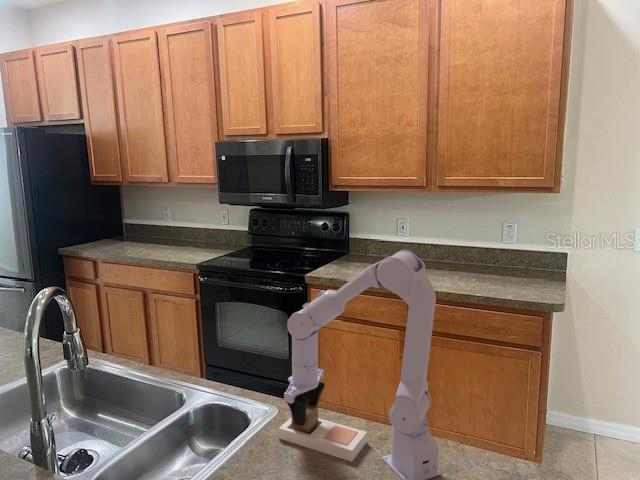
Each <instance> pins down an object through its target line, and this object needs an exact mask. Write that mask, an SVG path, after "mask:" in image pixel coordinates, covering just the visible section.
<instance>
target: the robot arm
mask: <svg viewBox="0 0 640 480" xmlns="http://www.w3.org/2000/svg"><path fill="white" fill-rule="evenodd" d="M426 271H427V270H426V264H425V262H424V261H423V260H421V258H419V257H418V256H417V255H416V253H414V252H412V251H410V250H408V249H407V250H403V249H402V250H399V251H397V252H395V253H394V254H392V255H391V256H388V257H385V258H384V259H382V260H380V261H378V262H376V263H374V264H372V265H369V266H368V267H366V268H364V269H363V270H362V271H360V272H359V273H358V274H357V275H355V276H353V278H351V279H350V280H349V281H348V282H346V283H345V284H344V285H342V286H341V287H340V288H339V289H337V290H333V289H327V290H326V291H325V290H324V289H323V290H321V291H320V292H319V291H318V293H317V294H316V295H317V297H316V298H314V299H313V300H312V301H310V302H306V303H304V304H303V305H302V309H300V310H299V311H295V312H294V313H292V314H291V316H290V317H289V318H288V319H287V321H286V322H287V324H286V327H287V330H288V333H289V334H290V335H291V370H292V371H291V372H292V373H291V375H290V376H289V377H288V378H287V381H288V382H289V385H288V388H287V389H286V390H285V392H284V393H283V402H284V403H286V404H287V406H288V407H289V409H290V412H291V417H292V416H293V420H294V423H295V424H296V425H299V426H303V425H304V422H305V415H306V408H307V405H308V404H310V405H314V406H317V407H318V405H319V400H320V397H321V395H322V392H323V391H324V389H325V386H326V384H325V383H324V382H321V379H324V377H325V376H324V375H325V374H324V372H325V370H324V369H323V368H319V358H318V357H319V356H318V355H319V352H318V351H319V350H318V348H319V330H321V328H322V327H324V326H325V325H327V324H329V323H330V322H331V321H333V320H334V319H336V318H337V317H338V316H341V314H342V313H344V311H345V308H346V303H347V302H349V301H350V300H352V299H353V298H355V297H356V296H358V295H360V294H361V293H363V292H364V291H366V290H367V289H369V288H371V287H373V288H377V289H379V288H381V287H383V288H385V289H387V290H388V291H390V292H392V293H393V294H395V296H396V295H397V296H398V297H400V298H401V299H402V300H403V301H404V302H405V303H406V305H408V311H407V318H406V326H405V327H406V328H405V337H404V344H403V345H404V347H403V355H402V363H401V373H400V382H399V384H398V387H397V390H396V393H395V398H394V399H395V400H394V403H393V404H392V406H390V409H389V412H388V419H389V422H390V424H391V441H390V442H391V443H390V444H391V445H390V446H391V447H390V449H391V450H390V454H387V455H383V456H381V457H382V460H383V461H384V463H385V464H387V466H388V467H389V468H390V469H391V470H392V471H393V472H394V473H395V474H397V476H398V477H399V478H400V479H401V480H430V479H432V478H435V477H438V476H440V475H441V474H442V473H441V471H440V470H439V469H438V465H439V464H438V463H439V462H438V461H439V460H438V458H439V446H438V443H437V441H436V440H435V438H433V436H432V434H431V433H430V430H429V422H428V418H427V416H426V414H427V413H428V411H429V409H430V408H431V405H432V404H431V403H432V399H431V396H430V393H429V382H428V381H427V377H428V376H427V375H428V370H429V369H428V368H429V362H430V361H429V360H430V352H431V343H432V335H433V327H434V320H435V318H434V317H435V312H436V311H435V310H436V303H437V294H436V292H435V289H434V287H433V284H432V282H431V280H430V278H429V276H428V273H427V272H426Z"/></svg>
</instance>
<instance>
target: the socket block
mask: <svg viewBox="0 0 640 480" xmlns="http://www.w3.org/2000/svg"><path fill="white" fill-rule="evenodd" d="M278 439H279V440H282V441H284V442H289V443H292V444H295V445H298V446H301V447H305V448H307V449H309V450H314V451H316V452H319V453H323V454H327V455H329V456H331V457H332V456H333V457H336V458H339V459H342V460H345V461H348V462H351V463H353V461H354V460H355V459H356V458H357V456H358V454H359V453H360V452H361V451H362V450H363V448H364V447H365V445H366V444H367V441H368V432H367V431H366V430H362V429H359V428H358V429H357V428H354V427H351V426H349V425H344V424H340V423H336V422H333V421H330V420H326V419H322V418H320V417H318V427H317V428H316V429H315V430H314V431H313V432H312V433H311V434H310V435H309V434H306V433H302V432H299V431H296V430H293V429H292V416H291V417H289V418H288V420H286V421H285V422H283V424H281V426H280V427H278Z"/></svg>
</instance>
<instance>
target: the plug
mask: <svg viewBox="0 0 640 480" xmlns="http://www.w3.org/2000/svg"><path fill="white" fill-rule="evenodd" d="M291 417H292V429H293V430H296V431H299V432H302V433H306V434H309V435H310V434H311V433H312V432H313V431H314V430H315V429H316V428H317V427H318V418H319V406H318V405H317V406H314V405H310V404H308V405H307V408H306V415H305V422H304V425H303V426H299V425H296V424H295V423H294V420H293V416H292V415H291Z"/></svg>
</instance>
